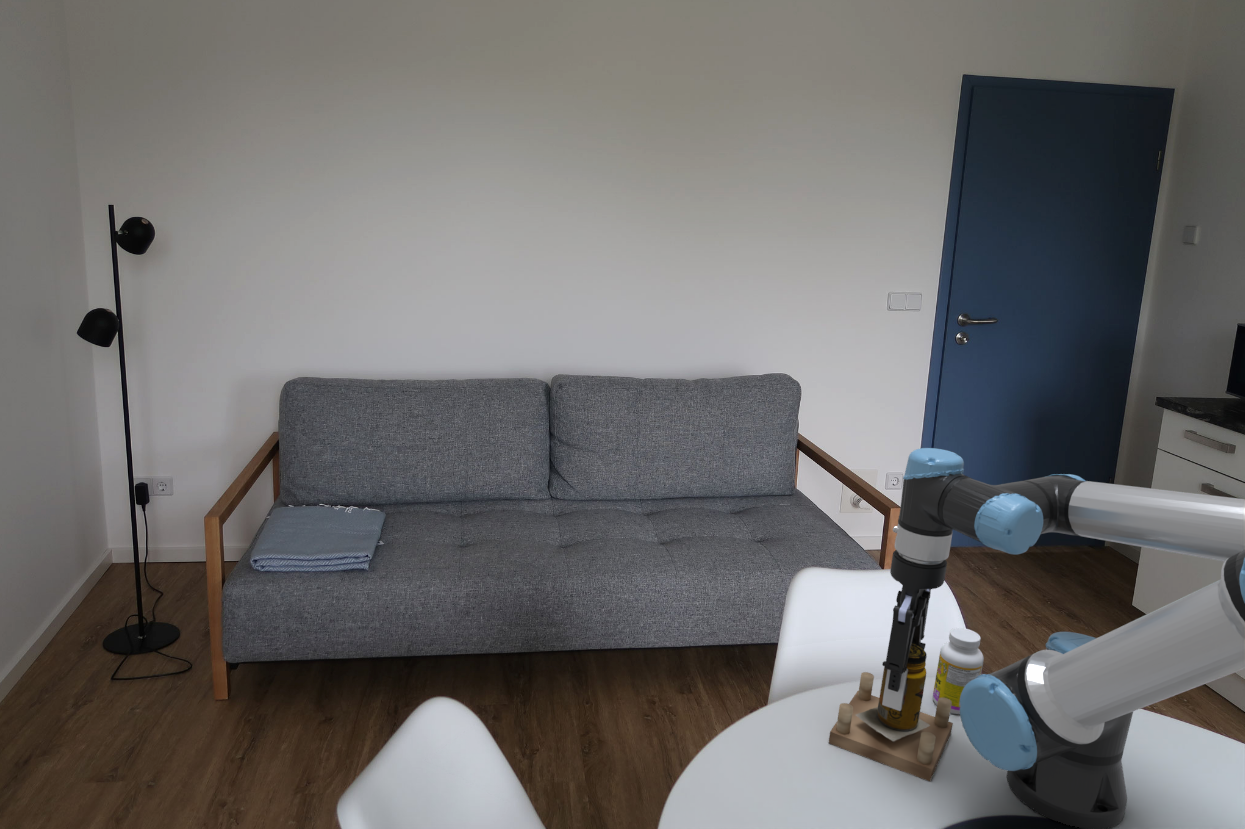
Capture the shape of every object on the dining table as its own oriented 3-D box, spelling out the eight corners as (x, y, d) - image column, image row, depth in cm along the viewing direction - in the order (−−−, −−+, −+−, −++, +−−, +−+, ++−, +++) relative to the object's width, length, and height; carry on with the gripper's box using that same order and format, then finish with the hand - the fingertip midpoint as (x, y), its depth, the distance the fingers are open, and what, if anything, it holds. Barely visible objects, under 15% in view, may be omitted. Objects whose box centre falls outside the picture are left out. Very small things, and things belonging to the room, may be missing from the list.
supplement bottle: (936, 689, 151) (948, 620, 148) (977, 702, 148) (990, 632, 144) (928, 707, 145) (940, 636, 142) (970, 721, 142) (983, 649, 139)
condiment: (930, 726, 134) (942, 654, 131) (892, 742, 129) (904, 668, 126) (891, 702, 140) (902, 633, 137) (854, 716, 135) (865, 645, 132)
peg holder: (950, 734, 138) (957, 700, 137) (930, 781, 126) (936, 744, 125) (856, 701, 145) (861, 668, 144) (828, 743, 134) (833, 708, 132)
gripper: (910, 529, 138) (889, 662, 144) (876, 569, 122) (854, 717, 128) (960, 541, 134) (937, 677, 140) (931, 584, 118) (907, 736, 124)
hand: (897, 696), depth 134 cm, fingers closed on condiment, 6 cm apart
